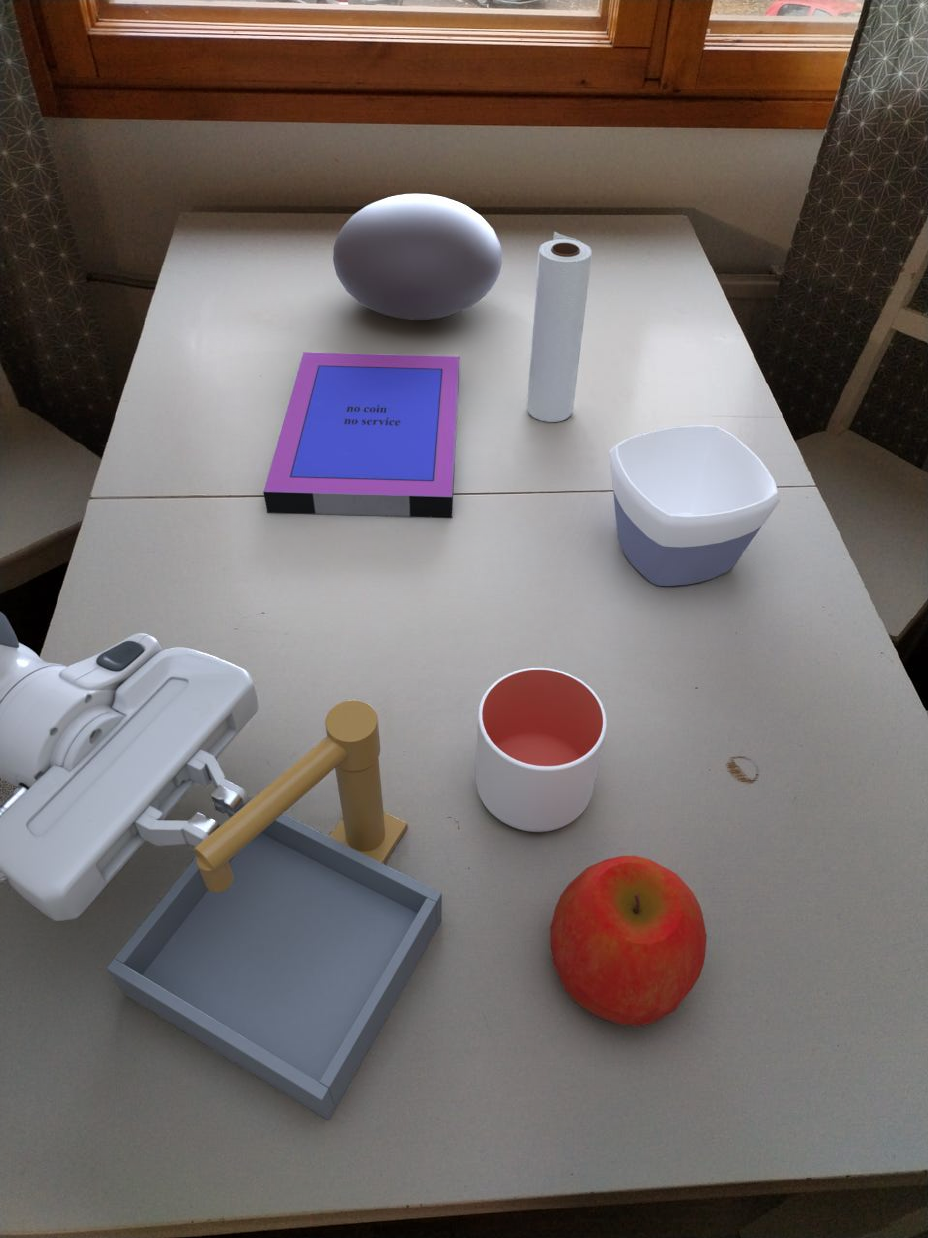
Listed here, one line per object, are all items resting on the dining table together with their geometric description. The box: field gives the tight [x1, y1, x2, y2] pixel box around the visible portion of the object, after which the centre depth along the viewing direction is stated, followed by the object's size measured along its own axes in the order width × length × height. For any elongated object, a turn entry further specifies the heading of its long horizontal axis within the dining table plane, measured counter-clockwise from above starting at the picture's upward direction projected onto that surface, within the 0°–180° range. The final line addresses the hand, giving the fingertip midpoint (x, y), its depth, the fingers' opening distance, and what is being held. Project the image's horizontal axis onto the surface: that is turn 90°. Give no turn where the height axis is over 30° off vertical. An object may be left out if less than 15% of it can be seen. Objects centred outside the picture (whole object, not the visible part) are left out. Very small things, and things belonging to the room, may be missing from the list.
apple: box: [549, 855, 707, 1027], centre depth 62 cm, size 11×11×11 cm
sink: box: [106, 795, 443, 1121], centre depth 64 cm, size 16×18×4 cm
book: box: [262, 351, 461, 519], centre depth 110 cm, size 21×3×30 cm
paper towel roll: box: [526, 231, 593, 423], centre depth 109 cm, size 7×6×21 cm
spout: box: [193, 699, 381, 892], centre depth 60 cm, size 15×4×5 cm, turn 140°
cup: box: [475, 667, 608, 833], centre depth 73 cm, size 10×10×10 cm
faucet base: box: [329, 757, 408, 865], centre depth 68 cm, size 5×5×12 cm
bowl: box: [608, 424, 781, 587], centre depth 94 cm, size 15×15×11 cm
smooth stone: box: [332, 193, 503, 321], centre depth 130 cm, size 25×25×15 cm
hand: (228, 821), depth 58 cm, fingers closed
